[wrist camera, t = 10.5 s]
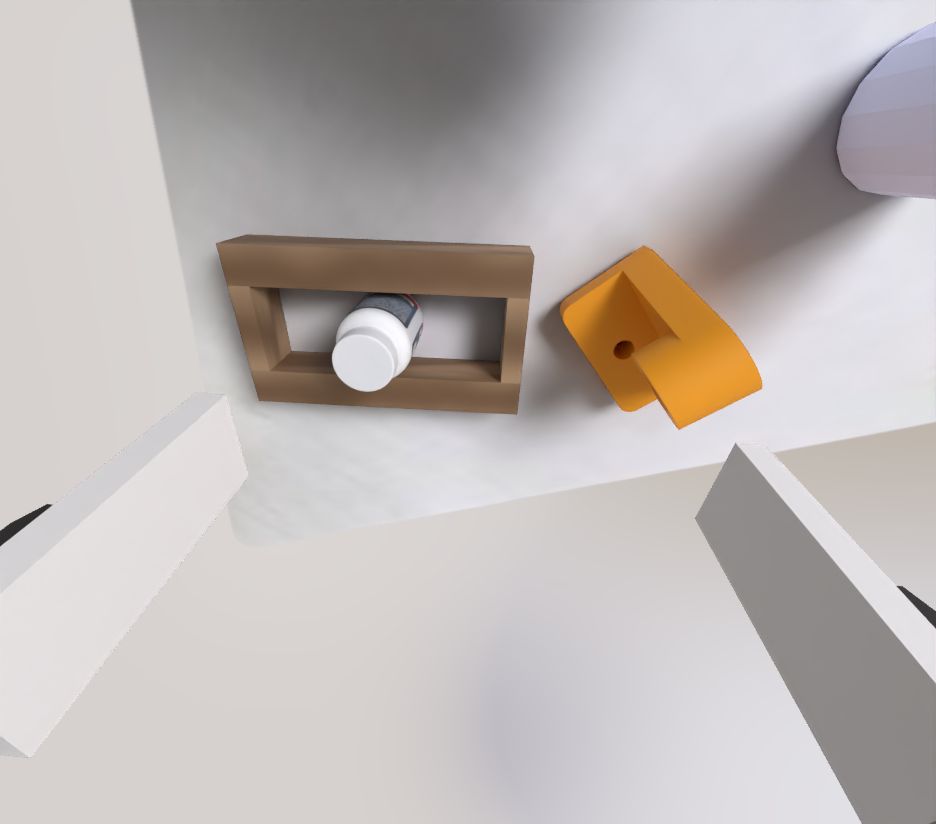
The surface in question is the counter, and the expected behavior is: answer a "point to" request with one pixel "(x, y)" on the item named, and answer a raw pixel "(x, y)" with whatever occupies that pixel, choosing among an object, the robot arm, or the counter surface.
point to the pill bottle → (377, 340)
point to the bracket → (658, 341)
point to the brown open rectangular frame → (389, 271)
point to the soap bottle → (894, 123)
